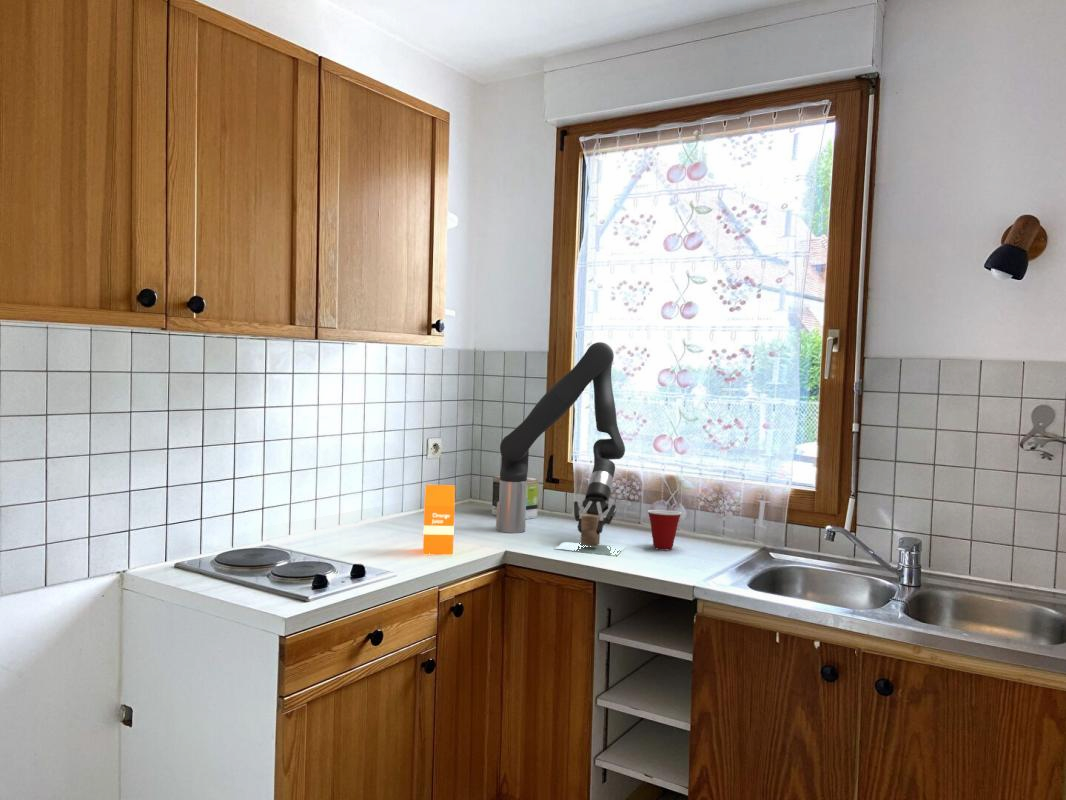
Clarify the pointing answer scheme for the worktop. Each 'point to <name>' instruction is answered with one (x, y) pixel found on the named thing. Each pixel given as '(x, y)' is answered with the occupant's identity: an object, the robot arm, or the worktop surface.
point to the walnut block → (589, 530)
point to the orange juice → (439, 519)
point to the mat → (596, 549)
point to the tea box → (530, 496)
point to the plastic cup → (663, 527)
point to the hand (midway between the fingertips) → (589, 531)
